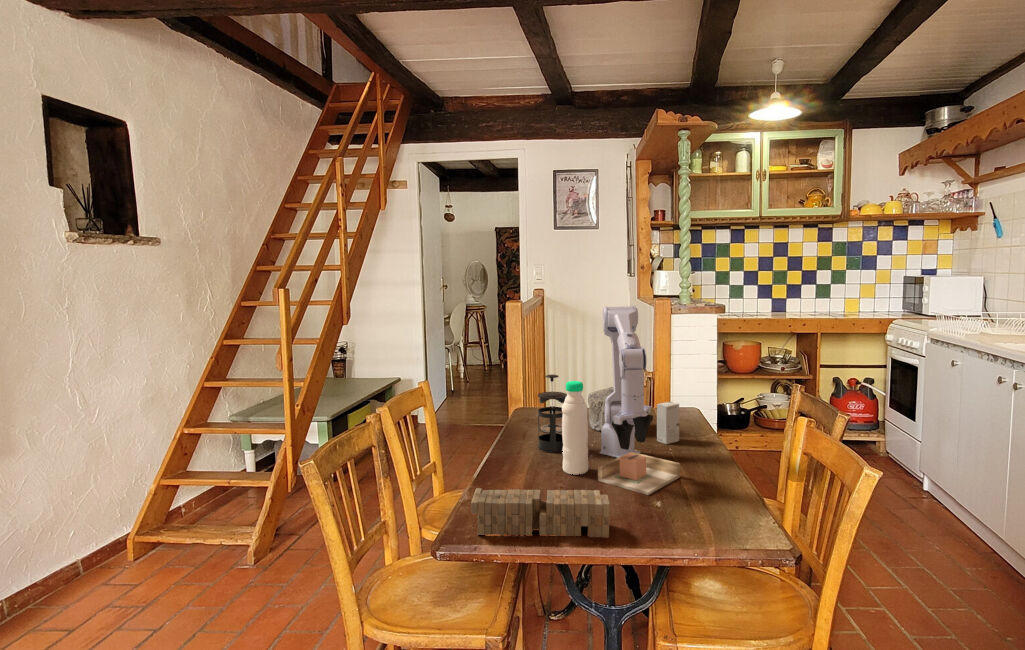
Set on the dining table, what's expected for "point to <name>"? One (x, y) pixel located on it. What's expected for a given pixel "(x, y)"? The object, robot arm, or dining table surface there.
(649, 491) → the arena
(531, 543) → the dining table surface
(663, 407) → the skincare box
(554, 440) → the french press
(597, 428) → the grey brown chunky block
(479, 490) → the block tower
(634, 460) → the terracotta cube
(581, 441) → the milk bottle
